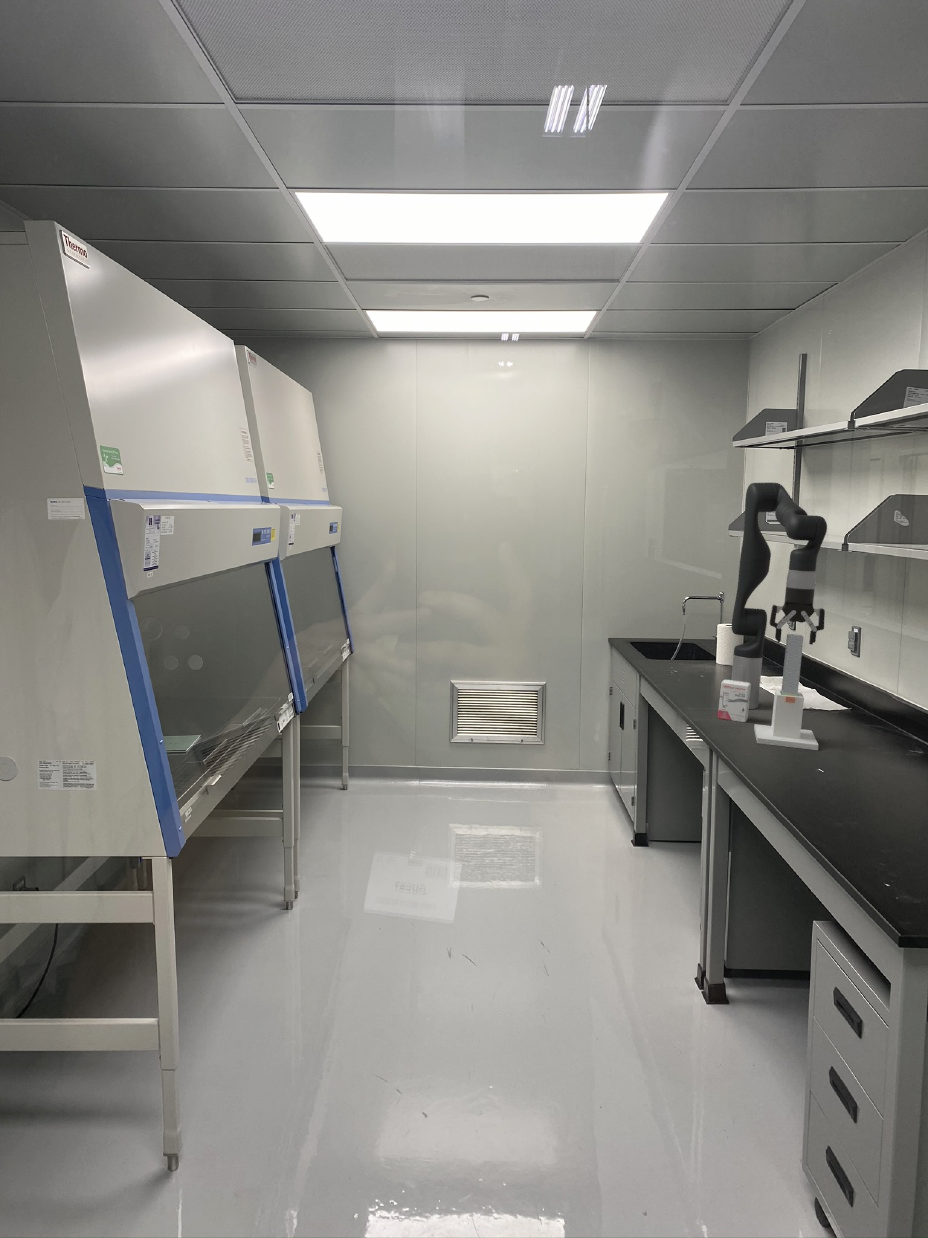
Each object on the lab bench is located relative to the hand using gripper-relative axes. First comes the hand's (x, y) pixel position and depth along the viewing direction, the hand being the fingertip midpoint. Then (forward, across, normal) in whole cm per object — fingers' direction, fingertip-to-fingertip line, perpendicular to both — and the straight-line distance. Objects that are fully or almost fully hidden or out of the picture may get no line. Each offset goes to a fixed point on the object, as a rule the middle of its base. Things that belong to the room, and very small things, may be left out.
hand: (794, 642), depth 231 cm
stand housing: (+28, 0, 0) cm, 28 cm away
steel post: (+20, 0, 0) cm, 20 cm away
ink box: (+29, +14, -18) cm, 37 cm away
